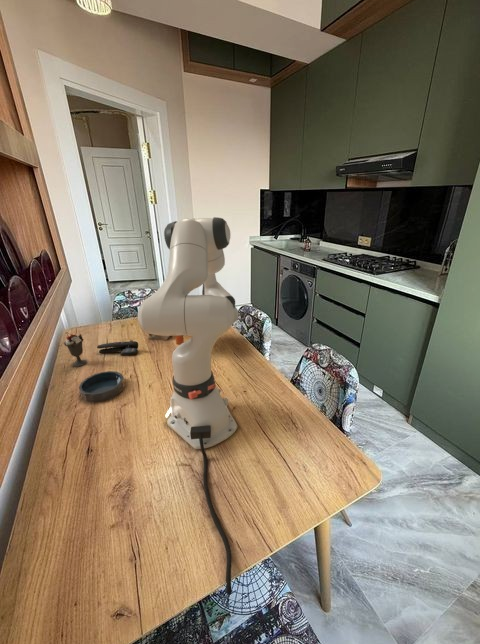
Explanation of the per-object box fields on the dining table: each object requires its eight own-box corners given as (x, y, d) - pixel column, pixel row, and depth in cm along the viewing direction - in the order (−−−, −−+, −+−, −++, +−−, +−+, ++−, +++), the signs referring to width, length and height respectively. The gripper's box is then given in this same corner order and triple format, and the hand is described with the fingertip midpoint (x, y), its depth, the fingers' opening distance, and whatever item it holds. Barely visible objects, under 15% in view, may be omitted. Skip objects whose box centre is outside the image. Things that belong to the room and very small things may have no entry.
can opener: (142, 349, 130) (140, 338, 127) (136, 357, 123) (133, 345, 121) (103, 348, 130) (100, 337, 127) (94, 356, 123) (91, 344, 121)
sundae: (67, 369, 114) (58, 334, 108) (73, 360, 120) (64, 327, 114) (86, 366, 116) (77, 333, 110) (90, 358, 122) (82, 326, 116)
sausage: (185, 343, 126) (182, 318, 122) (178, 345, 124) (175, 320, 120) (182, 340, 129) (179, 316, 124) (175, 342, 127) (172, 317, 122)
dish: (129, 392, 101) (127, 384, 100) (85, 408, 93) (82, 399, 92) (119, 375, 111) (117, 367, 109) (78, 387, 103) (76, 379, 102)
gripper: (194, 308, 137) (166, 315, 130) (216, 322, 123) (185, 330, 115) (195, 320, 140) (168, 327, 132) (217, 335, 125) (187, 344, 117)
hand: (176, 329), depth 123 cm, fingers closed on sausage, 3 cm apart
